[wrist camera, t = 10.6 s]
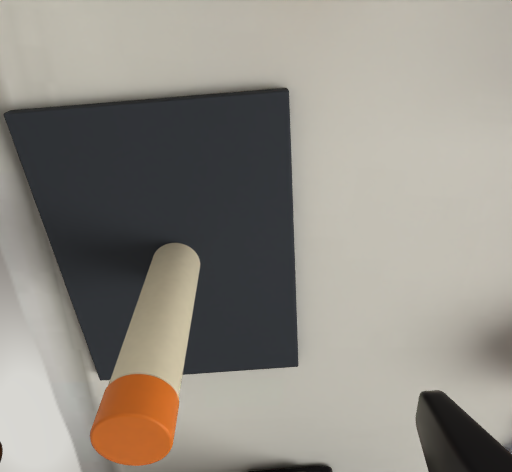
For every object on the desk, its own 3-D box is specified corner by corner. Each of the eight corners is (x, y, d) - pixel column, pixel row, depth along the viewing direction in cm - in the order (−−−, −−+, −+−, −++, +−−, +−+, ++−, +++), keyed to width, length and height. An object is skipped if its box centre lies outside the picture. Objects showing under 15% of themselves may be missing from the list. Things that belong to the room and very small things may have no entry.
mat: (297, 359, 26) (298, 367, 26) (102, 373, 26) (99, 380, 26) (287, 87, 18) (289, 90, 18) (9, 110, 18) (2, 113, 18)
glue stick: (204, 280, 22) (178, 464, 14) (156, 284, 22) (100, 469, 14) (197, 239, 21) (164, 412, 12) (147, 243, 21) (79, 418, 12)
